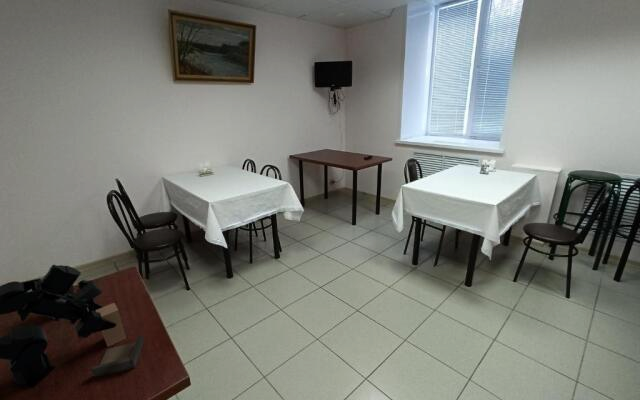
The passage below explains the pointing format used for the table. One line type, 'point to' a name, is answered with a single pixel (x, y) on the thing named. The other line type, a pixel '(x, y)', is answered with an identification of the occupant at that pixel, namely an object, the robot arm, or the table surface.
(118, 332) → the tan block
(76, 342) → the table surface
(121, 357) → the grey shallow square piece
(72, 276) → the robot arm
